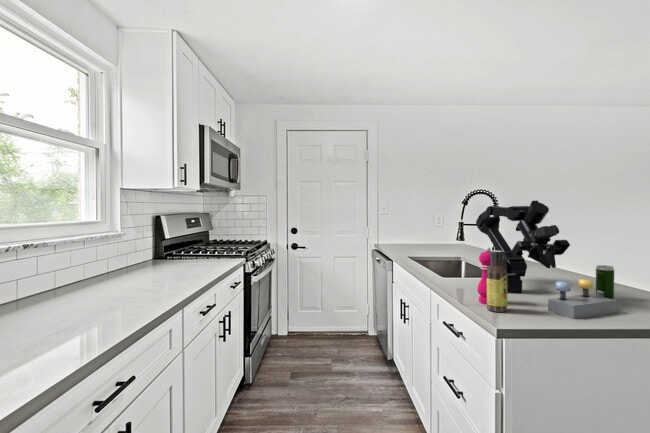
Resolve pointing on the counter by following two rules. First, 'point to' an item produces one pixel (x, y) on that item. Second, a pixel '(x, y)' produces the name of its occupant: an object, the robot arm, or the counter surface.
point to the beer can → (605, 281)
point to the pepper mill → (484, 275)
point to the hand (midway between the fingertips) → (552, 267)
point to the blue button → (562, 288)
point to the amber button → (586, 286)
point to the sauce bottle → (496, 283)
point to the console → (582, 306)
